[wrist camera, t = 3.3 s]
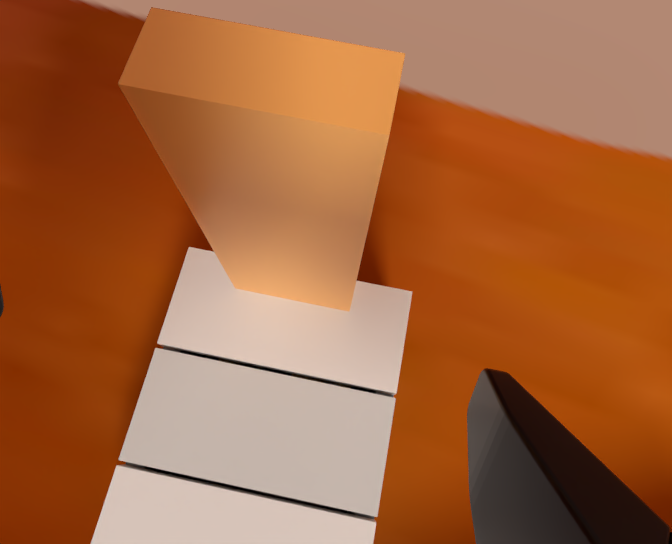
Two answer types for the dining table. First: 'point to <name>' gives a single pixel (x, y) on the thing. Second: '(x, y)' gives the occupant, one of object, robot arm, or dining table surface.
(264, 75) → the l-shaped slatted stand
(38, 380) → the dining table surface
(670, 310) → the dining table surface
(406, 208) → the dining table surface
